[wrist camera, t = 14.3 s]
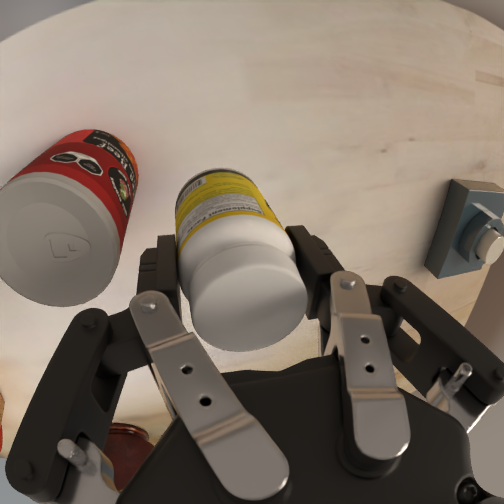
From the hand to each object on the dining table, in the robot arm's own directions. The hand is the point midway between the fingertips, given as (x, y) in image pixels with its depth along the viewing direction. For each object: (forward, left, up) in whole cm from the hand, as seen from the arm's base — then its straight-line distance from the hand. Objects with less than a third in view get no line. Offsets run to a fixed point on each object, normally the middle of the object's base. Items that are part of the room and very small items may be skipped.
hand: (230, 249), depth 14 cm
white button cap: (+7, +32, -8) cm, 34 cm away
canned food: (0, -9, -13) cm, 16 cm away
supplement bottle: (0, 0, -5) cm, 5 cm away
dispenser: (+7, +32, -12) cm, 35 cm away
